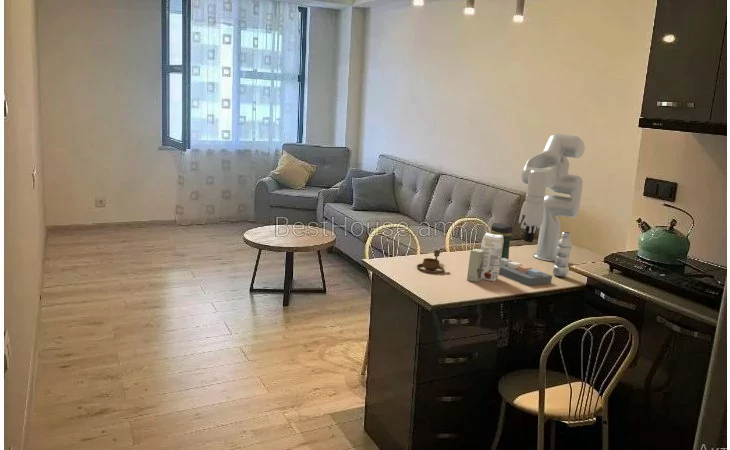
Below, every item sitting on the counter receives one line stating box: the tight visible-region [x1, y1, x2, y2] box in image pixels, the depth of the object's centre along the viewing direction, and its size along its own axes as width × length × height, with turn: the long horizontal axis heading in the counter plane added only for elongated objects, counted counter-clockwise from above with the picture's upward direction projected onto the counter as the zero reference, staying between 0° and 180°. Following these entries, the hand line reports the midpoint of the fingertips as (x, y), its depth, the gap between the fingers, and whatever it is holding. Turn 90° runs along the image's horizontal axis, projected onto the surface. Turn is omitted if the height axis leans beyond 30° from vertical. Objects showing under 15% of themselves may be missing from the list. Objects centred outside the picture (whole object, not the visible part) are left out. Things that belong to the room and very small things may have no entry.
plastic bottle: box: [552, 231, 573, 278], centre depth 282 cm, size 6×7×20 cm
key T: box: [517, 264, 532, 273], centre depth 275 cm, size 4×4×2 cm
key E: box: [528, 268, 543, 277], centre depth 270 cm, size 4×4×2 cm
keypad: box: [499, 260, 553, 287], centre depth 278 cm, size 14×25×3 cm, turn 33°
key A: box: [507, 261, 522, 269], centre depth 280 cm, size 4×4×2 cm
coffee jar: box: [490, 222, 513, 260], centre depth 296 cm, size 10×8×19 cm
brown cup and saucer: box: [416, 249, 451, 276], centre depth 277 cm, size 18×20×6 cm
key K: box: [501, 258, 512, 265], centre depth 284 cm, size 4×4×2 cm
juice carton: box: [480, 232, 504, 282], centre depth 268 cm, size 8×9×19 cm
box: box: [466, 248, 484, 283], centre depth 264 cm, size 5×4×13 cm
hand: (528, 241), depth 272 cm, fingers closed
